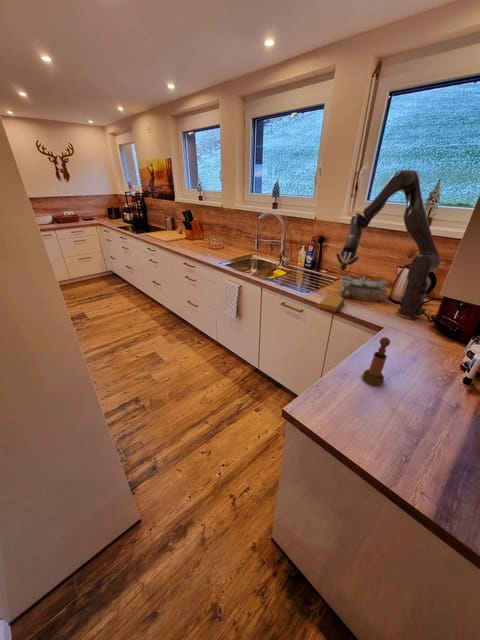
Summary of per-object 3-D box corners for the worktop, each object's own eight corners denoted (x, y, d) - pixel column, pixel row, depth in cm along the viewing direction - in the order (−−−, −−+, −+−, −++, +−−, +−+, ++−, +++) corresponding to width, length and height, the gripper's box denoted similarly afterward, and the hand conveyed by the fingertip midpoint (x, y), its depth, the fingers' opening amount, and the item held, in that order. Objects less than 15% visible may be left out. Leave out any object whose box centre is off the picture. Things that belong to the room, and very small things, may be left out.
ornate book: (337, 299, 160) (392, 304, 152) (340, 284, 156) (396, 289, 148) (337, 286, 179) (385, 290, 171) (339, 273, 175) (389, 276, 166)
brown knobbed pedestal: (365, 385, 93) (378, 342, 84) (360, 373, 99) (372, 332, 90) (384, 387, 92) (400, 344, 83) (379, 375, 98) (393, 334, 89)
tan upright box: (344, 298, 152) (338, 307, 141) (343, 303, 153) (337, 312, 143) (326, 294, 157) (319, 303, 146) (325, 299, 158) (318, 308, 148)
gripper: (340, 239, 155) (330, 264, 151) (363, 242, 149) (354, 268, 145) (340, 246, 161) (331, 271, 158) (363, 249, 155) (354, 275, 152)
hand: (342, 269), depth 152 cm, fingers closed
